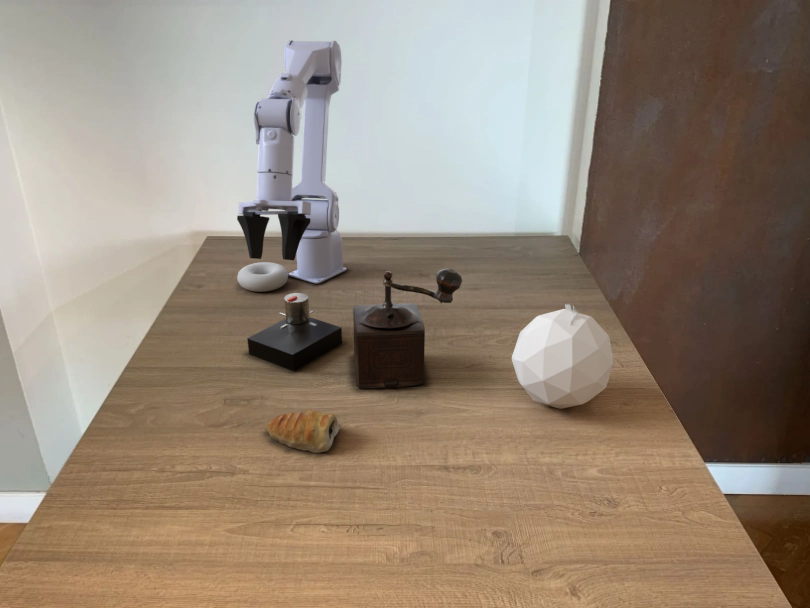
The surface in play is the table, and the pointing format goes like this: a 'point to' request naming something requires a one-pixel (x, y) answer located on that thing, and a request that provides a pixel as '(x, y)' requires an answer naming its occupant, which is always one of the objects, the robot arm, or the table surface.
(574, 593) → the table surface
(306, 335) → the stove
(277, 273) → the donut
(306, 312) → the stove knob
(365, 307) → the manual coffee grinder
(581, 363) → the geodesic sphere
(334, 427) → the pastry
